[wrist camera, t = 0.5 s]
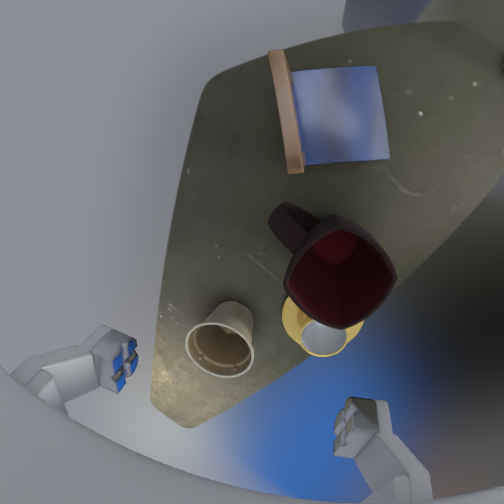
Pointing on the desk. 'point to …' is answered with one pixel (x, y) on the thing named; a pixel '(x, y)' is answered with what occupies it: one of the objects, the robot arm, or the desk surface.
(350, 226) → the mug
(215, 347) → the flower pot
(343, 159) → the chair
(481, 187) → the desk surface
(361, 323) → the cup
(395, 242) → the desk surface
